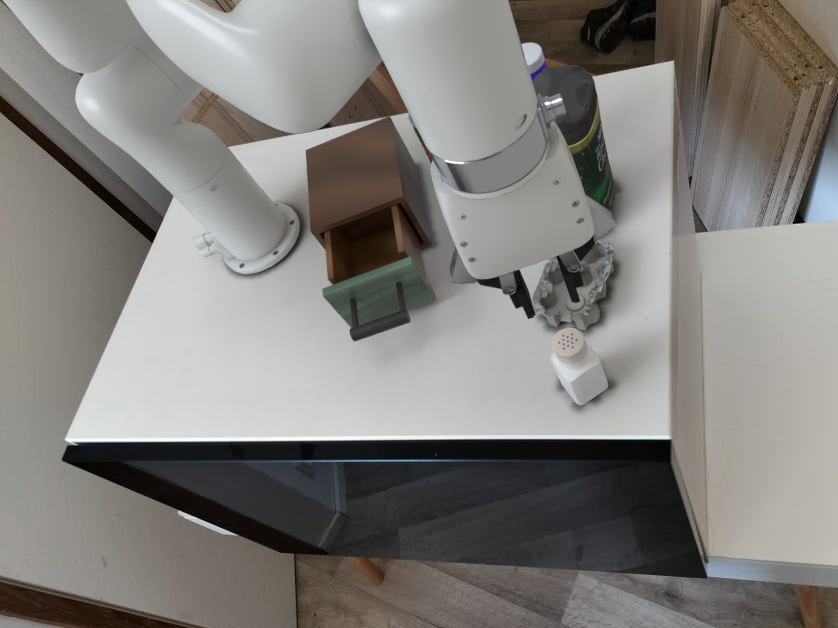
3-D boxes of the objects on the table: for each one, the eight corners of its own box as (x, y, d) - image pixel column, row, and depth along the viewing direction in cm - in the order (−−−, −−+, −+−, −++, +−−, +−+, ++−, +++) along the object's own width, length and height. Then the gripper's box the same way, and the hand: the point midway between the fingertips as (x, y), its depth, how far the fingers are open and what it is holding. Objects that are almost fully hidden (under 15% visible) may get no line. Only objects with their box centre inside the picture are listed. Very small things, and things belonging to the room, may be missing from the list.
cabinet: (432, 245, 90) (403, 196, 82) (346, 276, 92) (310, 231, 84) (417, 166, 98) (389, 115, 90) (338, 197, 100) (305, 149, 92)
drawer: (443, 338, 81) (418, 302, 74) (356, 368, 82) (325, 335, 76) (420, 218, 92) (397, 177, 85) (345, 246, 93) (316, 209, 87)
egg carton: (595, 335, 75) (589, 316, 72) (533, 324, 79) (524, 305, 75) (622, 258, 79) (617, 236, 76) (562, 250, 82) (555, 229, 79)
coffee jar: (610, 239, 81) (582, 120, 66) (547, 239, 84) (506, 125, 69) (622, 178, 85) (598, 52, 70) (561, 180, 88) (525, 60, 73)
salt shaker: (560, 383, 74) (539, 339, 66) (590, 362, 74) (573, 316, 66) (580, 409, 72) (561, 367, 64) (611, 388, 72) (596, 343, 64)
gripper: (595, 56, 44) (630, 234, 59) (366, 148, 47) (455, 295, 62) (630, 129, 40) (657, 300, 55) (377, 225, 43) (469, 363, 58)
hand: (550, 296), depth 59 cm, fingers open, 3 cm apart
